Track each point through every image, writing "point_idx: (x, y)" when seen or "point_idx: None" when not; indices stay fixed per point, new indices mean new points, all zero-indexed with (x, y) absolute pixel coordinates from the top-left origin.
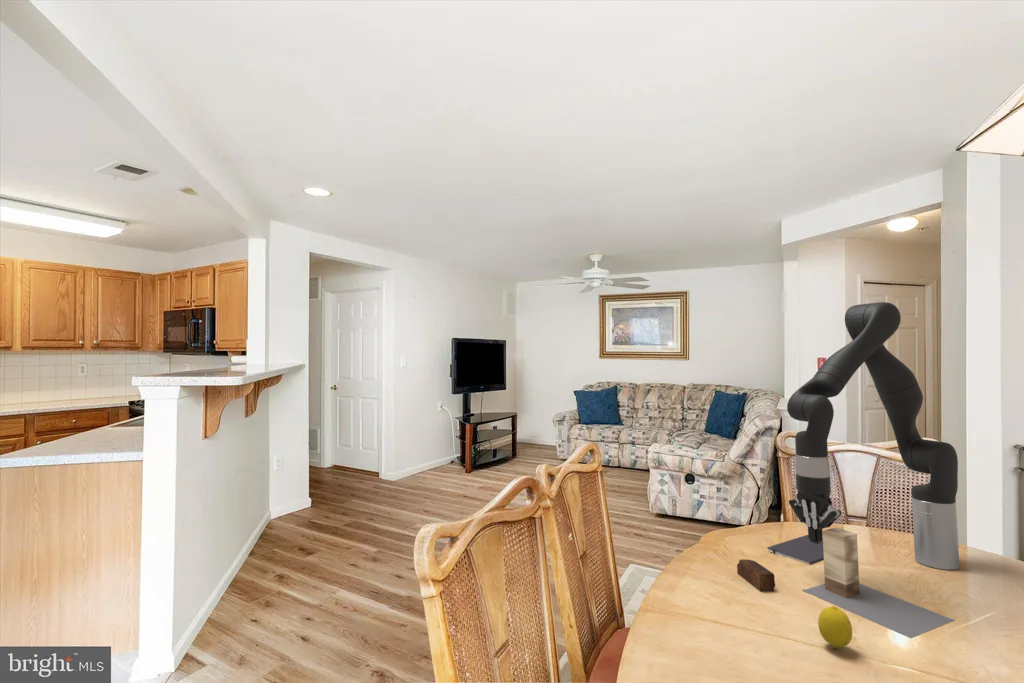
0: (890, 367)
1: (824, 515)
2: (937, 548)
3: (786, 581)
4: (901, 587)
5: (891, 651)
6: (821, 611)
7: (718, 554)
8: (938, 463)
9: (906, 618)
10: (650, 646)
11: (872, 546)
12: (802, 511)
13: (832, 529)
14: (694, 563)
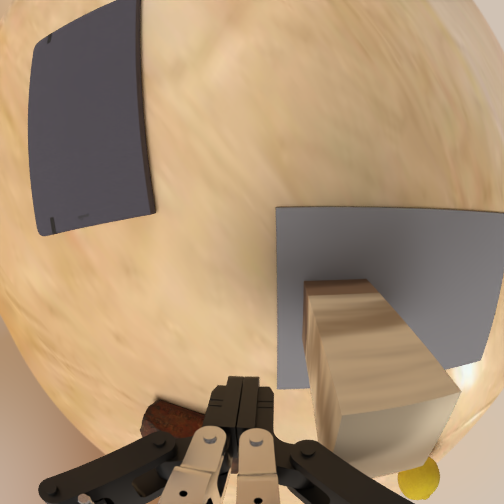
0: None
1: (278, 493)
2: None
3: (214, 368)
4: (383, 108)
5: (462, 406)
6: (408, 497)
7: (50, 356)
8: None
9: (468, 301)
10: None
11: None
12: (130, 483)
13: (347, 449)
14: (89, 424)
